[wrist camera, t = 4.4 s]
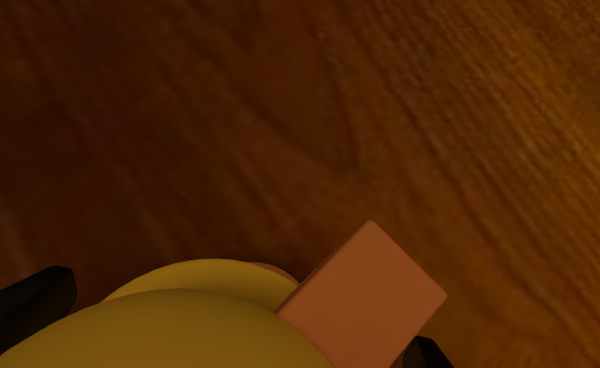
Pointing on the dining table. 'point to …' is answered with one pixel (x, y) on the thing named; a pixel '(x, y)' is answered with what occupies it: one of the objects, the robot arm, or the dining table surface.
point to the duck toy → (250, 315)
